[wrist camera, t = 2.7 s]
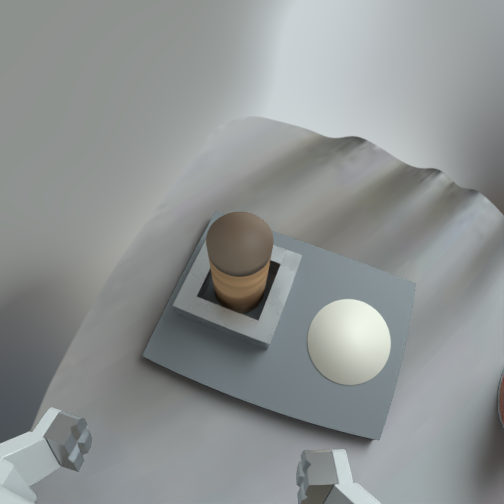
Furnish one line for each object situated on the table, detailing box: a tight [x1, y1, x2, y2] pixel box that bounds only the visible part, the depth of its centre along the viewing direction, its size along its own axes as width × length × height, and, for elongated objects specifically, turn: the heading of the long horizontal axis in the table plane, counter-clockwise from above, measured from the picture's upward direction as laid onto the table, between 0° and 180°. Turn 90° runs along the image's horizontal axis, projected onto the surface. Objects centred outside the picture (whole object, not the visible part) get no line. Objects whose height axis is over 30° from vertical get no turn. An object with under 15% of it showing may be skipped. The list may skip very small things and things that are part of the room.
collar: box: [173, 241, 302, 350], centre depth 28 cm, size 8×8×2 cm
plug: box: [206, 212, 274, 314], centre depth 25 cm, size 4×4×9 cm
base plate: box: [142, 212, 416, 440], centre depth 28 cm, size 16×22×1 cm
